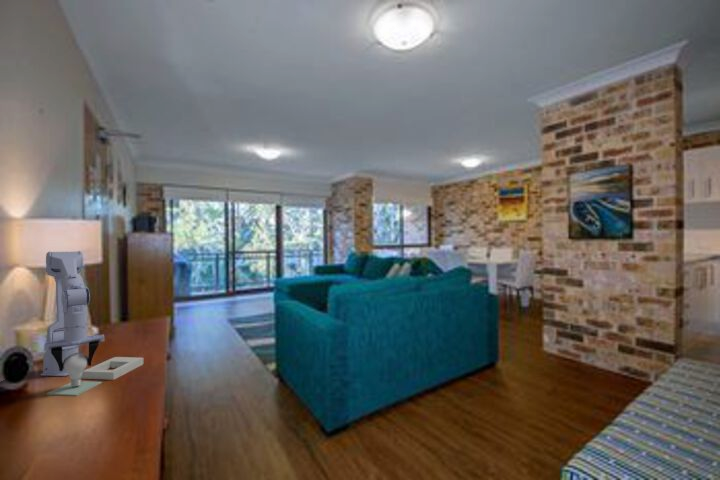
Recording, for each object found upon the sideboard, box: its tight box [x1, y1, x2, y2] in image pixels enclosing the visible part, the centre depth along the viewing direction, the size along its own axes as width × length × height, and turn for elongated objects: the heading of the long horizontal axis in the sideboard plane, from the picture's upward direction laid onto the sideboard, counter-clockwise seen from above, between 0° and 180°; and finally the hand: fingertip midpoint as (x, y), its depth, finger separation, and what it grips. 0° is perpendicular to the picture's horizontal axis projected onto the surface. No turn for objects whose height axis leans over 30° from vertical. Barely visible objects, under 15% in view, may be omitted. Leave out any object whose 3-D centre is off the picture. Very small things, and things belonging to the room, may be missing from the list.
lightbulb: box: [63, 352, 88, 387], centre depth 105 cm, size 6×6×11 cm
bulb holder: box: [82, 356, 144, 381], centre depth 119 cm, size 12×14×2 cm
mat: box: [46, 380, 103, 397], centre depth 105 cm, size 10×9×1 cm
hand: (75, 367), depth 105 cm, fingers closed on lightbulb, 6 cm apart
